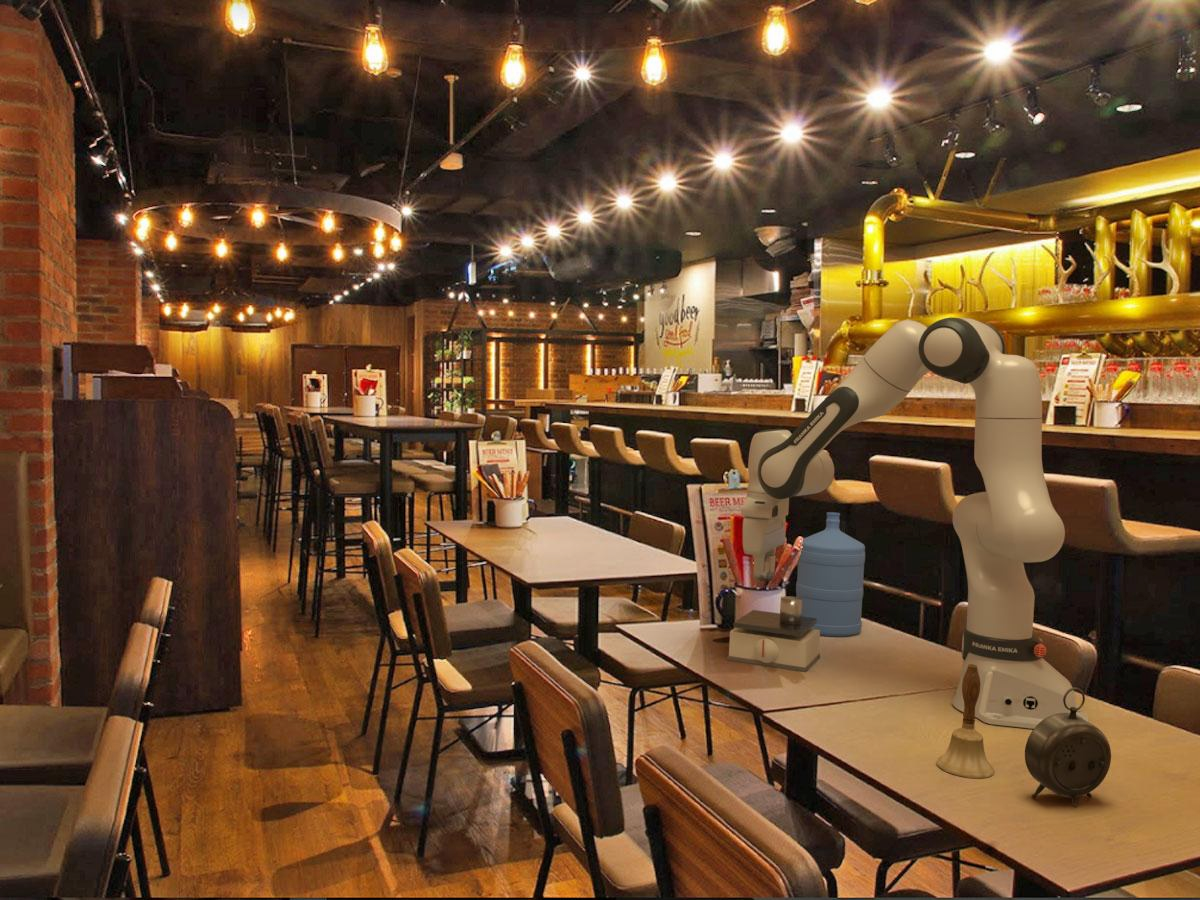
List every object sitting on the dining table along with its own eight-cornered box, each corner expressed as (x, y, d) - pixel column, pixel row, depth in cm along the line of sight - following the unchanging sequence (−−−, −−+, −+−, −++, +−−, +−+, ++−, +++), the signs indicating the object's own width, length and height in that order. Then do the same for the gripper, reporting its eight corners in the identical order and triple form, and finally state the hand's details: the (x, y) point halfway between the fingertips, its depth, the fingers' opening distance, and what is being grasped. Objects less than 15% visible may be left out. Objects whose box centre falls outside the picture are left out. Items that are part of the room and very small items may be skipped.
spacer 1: (782, 618, 211) (783, 595, 210) (803, 621, 209) (804, 598, 209) (777, 622, 207) (778, 599, 206) (798, 625, 205) (799, 601, 205)
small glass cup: (753, 576, 212) (755, 553, 212) (774, 578, 211) (776, 554, 211) (752, 579, 208) (753, 556, 208) (773, 581, 207) (775, 557, 207)
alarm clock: (1089, 792, 143) (1097, 681, 142) (1114, 808, 138) (1122, 693, 137) (1019, 794, 142) (1026, 682, 141) (1042, 810, 136) (1049, 694, 135)
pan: (816, 627, 213) (816, 618, 213) (800, 641, 200) (800, 631, 200) (752, 618, 219) (753, 609, 218) (733, 632, 206) (733, 622, 206)
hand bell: (1003, 769, 151) (1010, 666, 150) (979, 783, 145) (985, 675, 144) (951, 754, 157) (957, 654, 156) (926, 766, 151) (932, 663, 150)
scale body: (820, 657, 212) (821, 629, 211) (805, 672, 200) (806, 643, 200) (744, 646, 219) (746, 619, 218) (726, 660, 207) (727, 631, 207)
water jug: (864, 639, 229) (871, 518, 227) (795, 634, 231) (801, 515, 230) (858, 624, 244) (863, 511, 243) (792, 619, 247) (798, 507, 245)
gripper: (766, 500, 220) (762, 562, 220) (738, 508, 201) (734, 576, 202) (794, 502, 217) (790, 565, 218) (769, 511, 198) (765, 580, 199)
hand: (763, 570), depth 210 cm, fingers closed on small glass cup, 4 cm apart
